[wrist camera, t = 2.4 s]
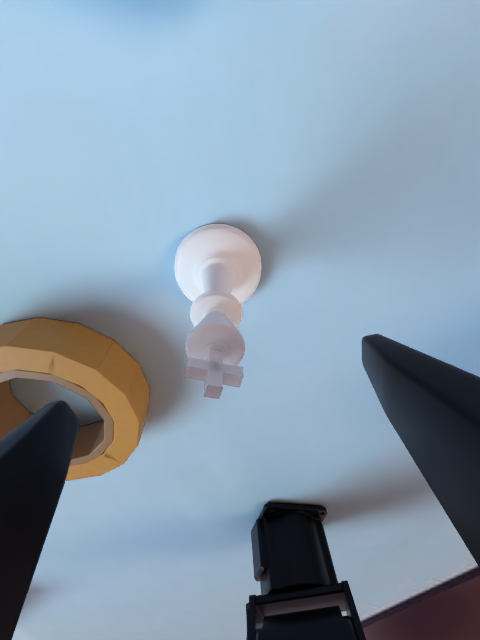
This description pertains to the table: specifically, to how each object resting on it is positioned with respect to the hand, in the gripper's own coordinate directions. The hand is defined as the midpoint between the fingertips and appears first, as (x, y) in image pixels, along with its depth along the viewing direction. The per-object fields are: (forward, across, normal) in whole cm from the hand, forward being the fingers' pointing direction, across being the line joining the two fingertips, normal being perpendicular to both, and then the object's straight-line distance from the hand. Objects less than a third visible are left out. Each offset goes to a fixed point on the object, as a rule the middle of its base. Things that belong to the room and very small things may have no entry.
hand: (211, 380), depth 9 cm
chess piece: (+10, 0, 0) cm, 10 cm away
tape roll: (+9, +13, +6) cm, 17 cm away
